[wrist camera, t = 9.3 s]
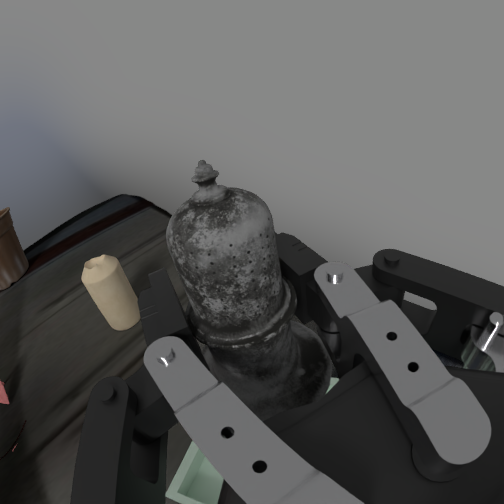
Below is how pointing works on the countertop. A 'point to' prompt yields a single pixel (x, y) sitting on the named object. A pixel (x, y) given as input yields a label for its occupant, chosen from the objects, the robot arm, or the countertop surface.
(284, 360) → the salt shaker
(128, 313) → the candle
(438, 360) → the robot arm
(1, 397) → the figurine
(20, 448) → the countertop surface
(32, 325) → the countertop surface
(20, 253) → the plant pot
